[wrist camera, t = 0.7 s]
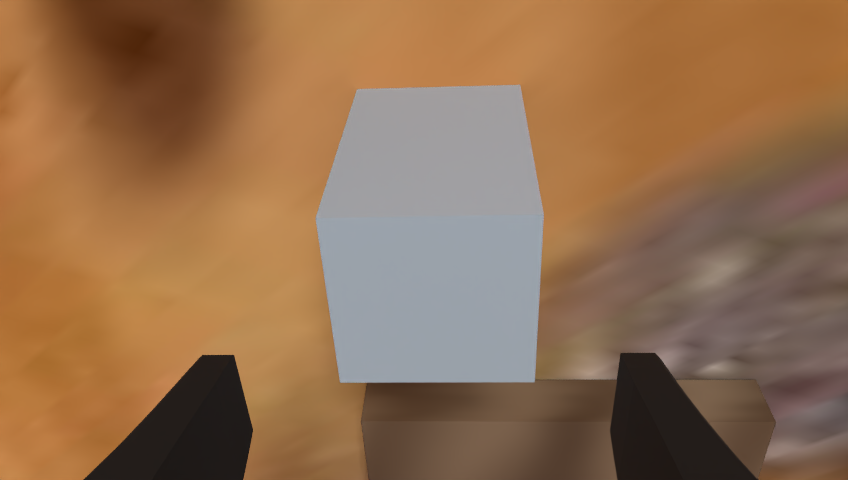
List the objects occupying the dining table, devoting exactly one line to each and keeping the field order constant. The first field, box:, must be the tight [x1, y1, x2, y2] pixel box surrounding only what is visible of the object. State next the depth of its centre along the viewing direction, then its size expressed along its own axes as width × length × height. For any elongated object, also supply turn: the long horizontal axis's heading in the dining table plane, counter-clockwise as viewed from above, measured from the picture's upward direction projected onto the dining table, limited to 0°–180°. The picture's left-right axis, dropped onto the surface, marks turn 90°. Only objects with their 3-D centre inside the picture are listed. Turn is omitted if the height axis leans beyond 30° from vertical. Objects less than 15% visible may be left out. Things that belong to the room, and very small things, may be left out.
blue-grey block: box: [316, 85, 544, 383], centre depth 19 cm, size 5×5×7 cm
